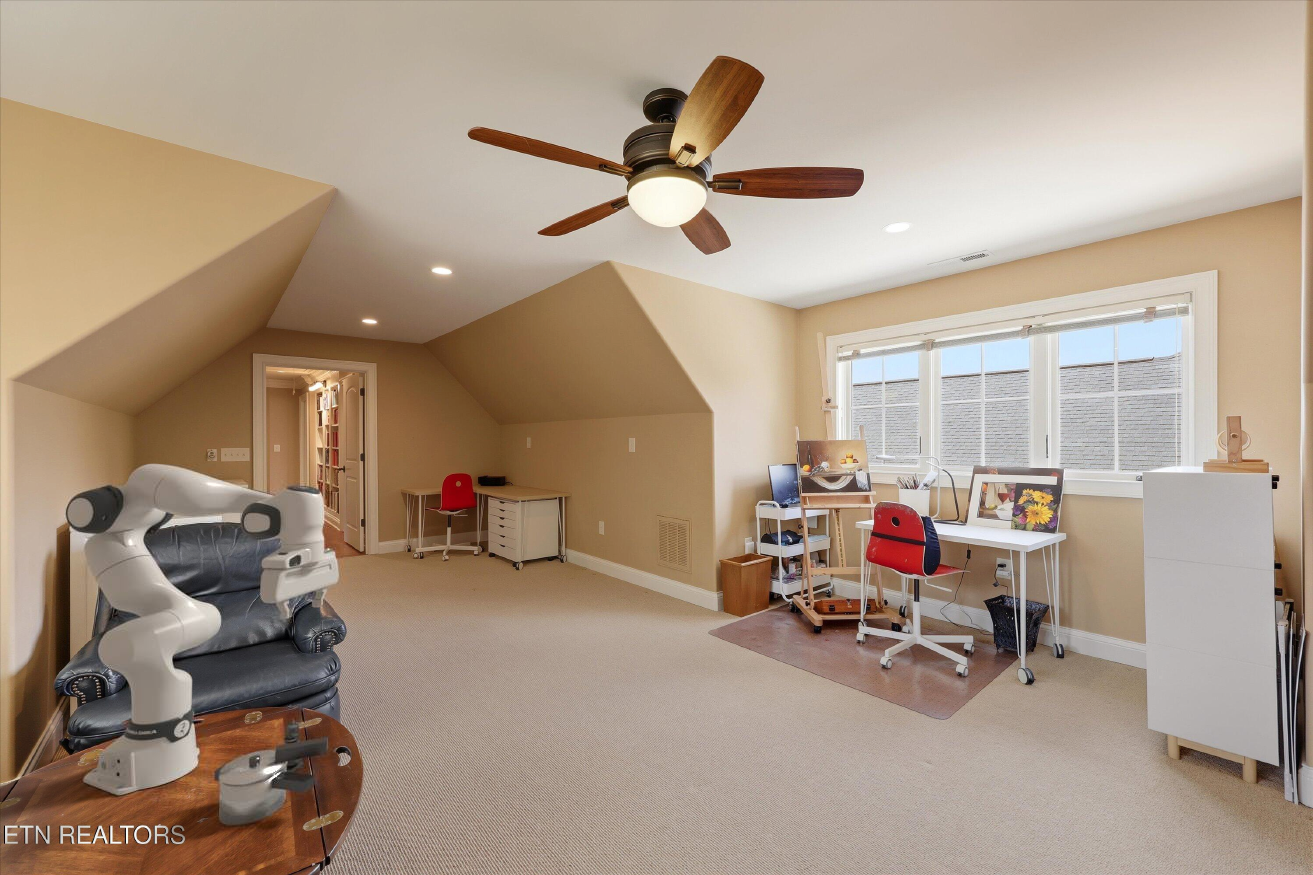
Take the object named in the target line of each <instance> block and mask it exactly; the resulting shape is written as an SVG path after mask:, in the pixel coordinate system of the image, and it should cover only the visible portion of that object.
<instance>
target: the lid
mask: <svg viewBox="0 0 1313 875" xmlns="http://www.w3.org/2000/svg"><path fill="white" fill-rule="evenodd" d="M328 745H329V736H325V737H318V738H314V739H313V738H312V739H307V740H302V741H300V740H299V742H295V743H289V744H285V743H284V744H280V745H276V747H275V749H266V750H265V749H264V750H258V751H254V752H251V753H247V754H244V755H242V756H239V757H237V758H234V759H233V760H231V761H229V762H227V763H225V764H226V765H225V764H224V765H225V766H224V767H223V768H222V769H221V770H220V773H219V781H218V782H219V783H220V782H221V783H222V784H224V785H228V786H242V785H249V784H253V783H257V782H260V781H263V780H265V779H268V778H270V777H272V776H274V775H276V774H277V773H279V772H280V771H281V770H283V769H284V768H285V766H286V765H287V762H288V761H291V760H296V759H301V758H303V759H305V758H307V759H308V758H311V757H317V756H322V755H326V754H327V753H328V750H329V746H328Z"/></svg>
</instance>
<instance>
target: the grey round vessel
mask: <svg viewBox="0 0 1313 875" xmlns="http://www.w3.org/2000/svg"><path fill="white" fill-rule="evenodd" d="M301 736H302V735H301V734H300V723H299V722H298V721H295V719H294V718H292V719H291V722H290V723H289V722H288V723H287V725H286V727H285V737H283V742H284V744H289V743H295V742H300V738H301ZM303 759H304V758H301V759H296V760H291V761H288V762H287V765H286V772H292V773H297V771H300V770H301V769H302V768H304V766H305V763H304V761H302V760H303Z"/></svg>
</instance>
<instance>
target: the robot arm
mask: <svg viewBox="0 0 1313 875" xmlns="http://www.w3.org/2000/svg"><path fill="white" fill-rule="evenodd" d="M224 514H241V516H240V528H241V530H242V532H243V533H244V535H245V536H246V537H247V538H248V539H250V540H253V541H259V542H261V541H262V542H263V541H264V542H265V541H272V540H277V539H280V548H278V549H277V550H275V551H274V552H272V553H270V554H269V555H267V556H266V557H264V558H263V559H262V561H261V567H262V569H264V570H263V572H262V573H261V576H260V577H261V578H260V590H259V591H260V599H261V601H262V602H263V603H265V604H276V607H277V608H278V610H279V611H280V619H281V620H287V619H289V618H291V617H293V609H290V608H289V606H288V605H289V604H290V599H293V598H297V597H299V596H303V595H306V594H308V593H312V592H315V593H316V594H315V595H314V599H312V600H311V603H312V604H311V607H312V608H320V607H322V606H323V605H324V604H323V603H324V598H325V596H326V593H327V591H328V587H330V586H332V585H336V584H337V583H338V581H339V577H340V575H339V564H338V559H337V557H336V551H334V549H332V548H331V547H328V548H325V536H324V533H323V532H324V531H323V529H324V528H323V527H324V524H325V502H324V497H323V495H322V492H321V491H320V490H319V489H318V488H316V487H314V486H307V485H289V486H287V487H285V488H284V489H283V490H281V492H279V493H278V494H272V493H269V492H266V491H261V490H256V489H253V488H248V487H243V486H240V485H238V484H234V483H231V482H227V481H224V480H220V479H218V478H214V477H212V476H209V475H206V474H203V473H200V472H196V471H193V470H191V469H188V468H183V467H179V466H176V465H169V464H164V463H163V464H162V463H160V464H159V463H147V464H144V465H141V466H139V467H138V468H136V469H135V470H133V472H131V474H130V475H129V477H128V480H127V481H126V482H125V484H123V485H120V486H113V485H112V484H108V485H105V486H104V485H103V486H100V487H96V488H92V489H89V490H86V491H83V492H79V493H77V494H76V495H75V496H73V497H72V498H71V499H70V500H69V502H68V504H67V505H66V509H65V518H66V521H67V523H68V525H69V526H70V527H71V529H72V530H74V531H76V532H79V533H83V534H90V535H91V534H93V535H92V536H90V537H89V538H88V539H87V540H86V542H85V544H84V547H83V551H84V555H85V559H86V562H87V564H88V568H89V570H90V572H91V573H92V576H93V578H94V579H95V581H96V582H97V584H98V586H99V588H100V590H101V592H102V593H103V595H104V596H105V598H106V600H107V602H109V604H110V606H111V607H113V609H116V610H118V611H122V612H127V613H131V614H135V615H136V616H139V617H138V618H133V619H131V620H128V621H126V622H124V623H122V624H120V625H118V626H116V627H113V628H112V629H110V630H108V631H106V633H104V635H103V636H102V638H101V639H100V641H99V645H98V649H97V651H98V652H97V653H98V656H99V659H100V661H101V663H102V664H103V665H104V666H105V667H106V668H109V669H110V670H113V671H116V672H118V673H119V674H121V675H122V676H124V678H125V679H126V680H127V682H128V685H129V688H130V693H131V717H130V718H128V719H126V720H123V721H122V722H121V723H122V725H121V728H122V727H126V728H125V731H124V733H123V734H122V735H121V736H120V737H118V738H117V739H115V741H113V742H112V743H110V744H109V745H108V746H106V748H104V749H103V750H102V751H101V752H100V755H99V757H98V761H97V762H98V763H97V767H95V768H93V769H92V770H91V771H89V772H88V773H87V774H85V776H84V777H83V780H82V782H83V783H85V784H87V785H90V786H92V787H95V788H98V789H100V790H103V791H105V792H108V793H110V794H114V795H116V796H123V795H126V794H129V793H132V792H136V791H139V790H145V789H149V788H154V787H158V786H161V785H164V784H167V783H170V782H172V781H176V780H178V779H179V778H181V777H183V776H185V775H187V774H189V773H190V772H191V771H193V770H194V769H195V768H196V767H197V766H198V765H199V764H198V763H199V758H198V756H199V755H200V752H201V751H200V748H199V747H197V741H196V739H197V738H196V732H195V731H196V730H195V724H194V718H195V717H194V716H195V711H194V706H193V705H192V702H193V701H192V700H193V699H192V697H193V678H192V676H191V675H190V674H189V672H187V671H185V670H184V669H183V670H182V669H178V668H175V667H174V664H173V663H174V662H173V658H174V657H173V656H174V655H175V654H179V653H181V652H184V651H188V650H190V649H193V648H195V647H198V646H200V645H202V644H203V643H205V642H207V641H208V640H210V639H211V638H213V637H214V636H216V635H217V634H218V632H219V631H220V628H221V624H222V615H221V612H220V611H219V610H218V608H217V607H216V606H215V605H213V604H211V603H208V602H204V601H202V600H201V601H200V600H197V599H195V598H192V597H191V596H189V595H187V594H185V592H182V591H181V590H180V589H178V588H177V587H176V586H175V585H173V584H172V583H171V582H170V581H169V580H168V579H167V577H166V576H165V574H164V572H163V571H162V570H161V568H160V566H159V565H158V564H157V562H156V560H155V559H154V556H152V554H151V552H150V551H149V549H147V546H146V544H145V542H144V537H145V535H148V536H149V535H155V534H156V533H158V532H159V531H160V529H161V527H163V526H165V525H166V524H167V523H169V521H171V520H172V518H173V517H174V515H175V516H182V517H192V518H193V517H205V516H206V517H207V516H214V515H224Z"/></svg>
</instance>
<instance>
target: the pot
mask: <svg viewBox="0 0 1313 875" xmlns="http://www.w3.org/2000/svg"><path fill="white" fill-rule="evenodd" d="M226 764H227V763H225V764H223V765H222V766H219V767H218V768H217V769H214V781H216V782H219V805H218V806H219V807H218V808H219V810H218V811H219V812H218V813H219V815H218V819H219V821H220V822H221V823H222V824H224V825H227V826H241V825H246V824H251V823H254V822H257V821H259V820H262V819H265V818H267V817H269V816H271V815H273V814H274V813H275V812H277V811H278V810H279V809H280V808H282V807H283V805H284V804H285V802H286V798H287V796H286V793H287V791H291V792H299V793H307V792H308V791H310V789H312V788H313V787H314V786H315V782H316V781H315V777H316V776H315V775H314V774H308V773H307V774H306V773H299V772H293V773H292V772H286V766H285V768H284V769H283V770H281V771H280V772H279V773H277V774H276V775H274V776H272V777H270V778H268V779H265V780H263V781H260V782H257V783H253V784H249V785H242V786H228V785H224V784H222V783H221V782H220V781H219V773H220V770H221V769H222V768H223V767H224V766H225V765H226Z"/></svg>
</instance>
